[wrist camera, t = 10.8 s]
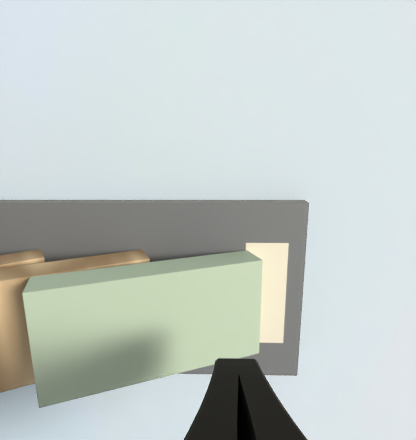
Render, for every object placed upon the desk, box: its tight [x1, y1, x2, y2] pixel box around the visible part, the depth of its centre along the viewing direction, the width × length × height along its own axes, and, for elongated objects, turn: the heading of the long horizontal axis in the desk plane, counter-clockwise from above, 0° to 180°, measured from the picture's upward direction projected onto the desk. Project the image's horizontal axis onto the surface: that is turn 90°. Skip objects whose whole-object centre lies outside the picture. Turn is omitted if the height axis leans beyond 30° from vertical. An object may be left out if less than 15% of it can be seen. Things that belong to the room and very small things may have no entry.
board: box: [0, 200, 309, 376], centre depth 17 cm, size 10×29×1 cm, turn 90°
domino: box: [0, 249, 150, 393], centre depth 14 cm, size 2×5×10 cm
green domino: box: [22, 250, 263, 408], centre depth 14 cm, size 2×5×10 cm
